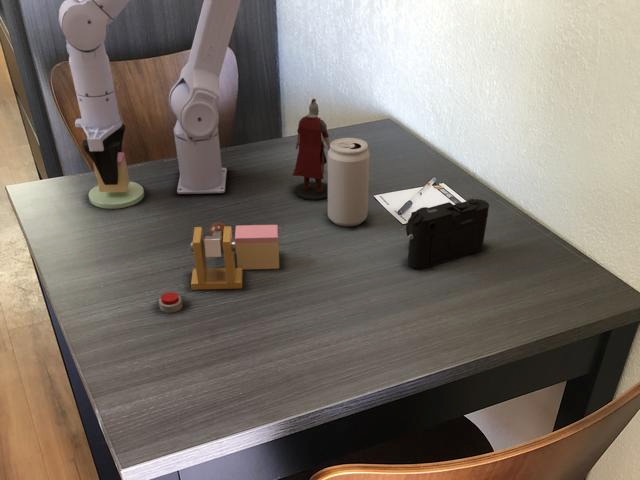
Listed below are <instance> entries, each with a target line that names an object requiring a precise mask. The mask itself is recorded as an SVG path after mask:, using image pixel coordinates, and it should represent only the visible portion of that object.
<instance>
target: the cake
mask: <svg viewBox="0 0 640 480" xmlns="http://www.w3.org/2000/svg"><path fill="white" fill-rule="evenodd" d="M278 229H279V227H278V224H249V225H247V224H246V225H245V224H244V225H242V224H241V225H235V233H234V241H235V242H236V251H235V253H236V263H237V264H236V265H237V268H242V271H243V270H245V271H246V270H271V269H272V270H276V269H277V270H278V269H280V248H279V230H278Z"/></svg>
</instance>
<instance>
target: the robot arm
mask: <svg viewBox="0 0 640 480" xmlns="http://www.w3.org/2000/svg"><path fill="white" fill-rule="evenodd" d="M129 2H131V0H64V1H63V2H62V4H61V5H60V7H59V9H58V10H59V11H58V18H57V22H58V24H59V27H60V29H61V30H62V33H63V35H64V37H65V42H66V46H65V47H66V51H67V55H69V57H68V64H69V68H70V73H71V78H72V82H73V86H74V90H75V94H76V99H77V104H78V108H79V113H80V117H81V118H76V119H75V121H74V126H75V128H80V129H82V130H83V131H84V134H85V135H86V137H87V138H86V139H83V141H82V143H81V146H82V149H83V151H84V152H85V153H86V154H87V155H88V156H89V158H90V159H91V160H92V163H93V162H94V164H95V166H96V168H97V170H98V172H99V174H100V176H101V179H102V181H103V183H104V184H105V185H117V184H118V163H117V160H118V152H123V140H124V135H125V133H126V132H125V131H126V127H127V126H126V125H125V123H123V120H122V118H121V116H120V111H119V106H118V101H117V96H116V90H115V86H114V85H115V84H114V80H113V75H112V70H111V64H110V58H109V56H108V54H107V51H106V45H105V41H106V38H107V26H109V25H111V24H113V22H114V21H115V20H116V19H117V17H118V16H119V15H120V13H122V11H123V10H124V9H125V8H126V6H127V5H128V4H129ZM241 2H242V0H203V1H202V5H201V11H200V14H199V18H198V22H197V26H196V30H195V34H194V37H193V41H192V44H191V45H192V46H191V49H190V53H189V57H188V60H187V63H185V65H184V66H183V67H182V69H181V71H180V75H179V78H178V80H177V81H176V83H175V84H174V85H173V86H172V87H171V89H170V91H169V95H168V105H169V108H170V110H171V112H172V113H173V114H174V116H175V117H176V123H175V125H174V127H173V135H174V142H175V143H174V144H175V150H176V156H177V157H176V158H177V164H178V170H179V179H178V183H177V188H176V193H177V194H178V195H196V194H197V195H198V194H199V195H202V194H206V195H207V194H224V193H225V192H226V183H227V172H228V170H227V168H226V167H223V166H222V156H221V145H220V137H219V121H220V116H219V115H220V114H219V110H218V105H219V100H220V98H221V92H220V91H221V90H220V89H221V88H220V76H221V72H222V68H223V65H224V62H225V59H226V58H225V57H226V54H227V51H228V47H229V45H230V41H231V37H232V34H233V30H234V26H235V23H236V20H237V15H238V12H239V9H240V5H241Z"/></svg>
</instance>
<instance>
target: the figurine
mask: <svg viewBox="0 0 640 480" xmlns="http://www.w3.org/2000/svg"><path fill="white" fill-rule="evenodd" d="M319 112H320V111H319V105H318V103H317V100H316V99H315V98H313V99H311V102H310V104H309V106H308V114H306V115H305V116H303V117H301V119H299V121H298V126H297V127H298V128H297V131H296V132H297V135H296V142H295V150H298V153H297V157H296V162H295V167H294V170H293V172H292V175H291V176H293V177H303V183H301V184H299V185H297V186H295V188H294V194H295V196H297V198H300V199H303V200H304V201H321V200H326V199H328V183H324V182H322V180H324V179H325V178H324V175H325V164H328V159H327V158H326V157H327V156H326V152H325V149H326V146H327V152H328V151H329V149H330V144H331V143H330V138H329V137H330V136H329V133H328V127H327V123H326V122H325V121H324V120H323V119H322V118H321V117H319V116H318V115H319ZM325 143H326V145H325ZM310 179H314V180H315V181H310Z"/></svg>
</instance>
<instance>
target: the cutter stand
mask: <svg viewBox="0 0 640 480" xmlns="http://www.w3.org/2000/svg"><path fill="white" fill-rule="evenodd" d="M232 230H233V229H232V226H231V225H226V226H224V233H223V243H222V247H223V257H224V259H223V260H224V268H222V267H220V268H218V267H217V268H208V264H207V257H205V247H204V231H203V227H202V226H194V229H193V237H192V241H190V250H191V251H190V252H191V253H193V258H194V264H195V268H193V269H192V274H191V282H190V286H191V290H195V291H198V290H231V289H232V290H234V289H235V290H236V289H243V276H244V275H243V272H244V271H243V270H242V268H238V267H236V261H235V252H236V242H235V240H233V231H232Z"/></svg>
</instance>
